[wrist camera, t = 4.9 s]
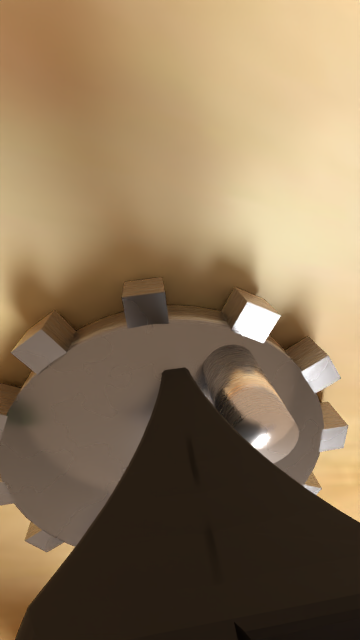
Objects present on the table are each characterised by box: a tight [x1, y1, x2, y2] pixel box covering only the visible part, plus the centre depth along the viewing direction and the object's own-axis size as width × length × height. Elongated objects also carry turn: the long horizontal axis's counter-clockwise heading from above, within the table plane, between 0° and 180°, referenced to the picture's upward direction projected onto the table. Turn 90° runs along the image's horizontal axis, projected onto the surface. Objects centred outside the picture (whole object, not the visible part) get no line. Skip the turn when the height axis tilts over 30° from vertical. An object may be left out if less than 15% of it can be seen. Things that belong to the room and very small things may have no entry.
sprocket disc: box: [0, 277, 348, 552], centre depth 12 cm, size 16×16×5 cm
